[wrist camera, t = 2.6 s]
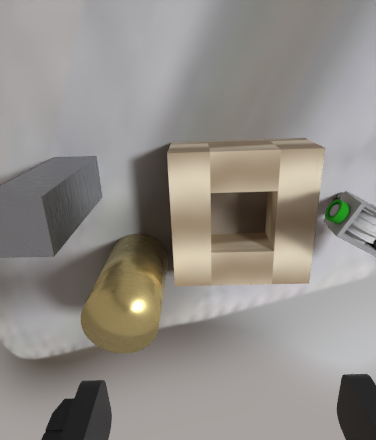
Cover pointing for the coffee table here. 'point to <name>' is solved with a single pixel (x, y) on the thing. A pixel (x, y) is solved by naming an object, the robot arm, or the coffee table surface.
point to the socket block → (244, 210)
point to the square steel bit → (47, 205)
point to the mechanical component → (353, 221)
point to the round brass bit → (127, 296)
